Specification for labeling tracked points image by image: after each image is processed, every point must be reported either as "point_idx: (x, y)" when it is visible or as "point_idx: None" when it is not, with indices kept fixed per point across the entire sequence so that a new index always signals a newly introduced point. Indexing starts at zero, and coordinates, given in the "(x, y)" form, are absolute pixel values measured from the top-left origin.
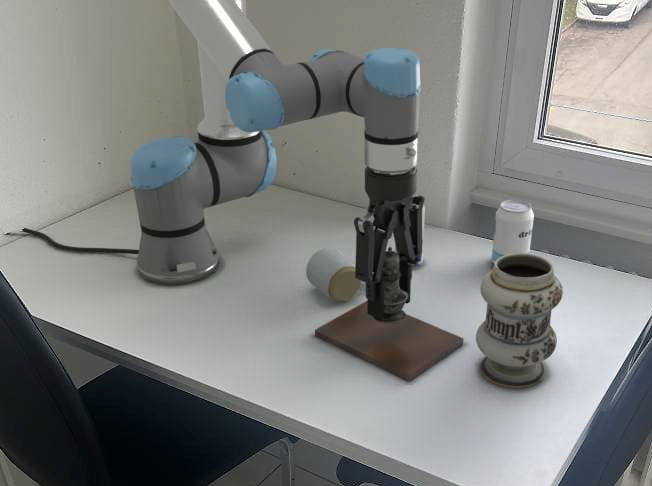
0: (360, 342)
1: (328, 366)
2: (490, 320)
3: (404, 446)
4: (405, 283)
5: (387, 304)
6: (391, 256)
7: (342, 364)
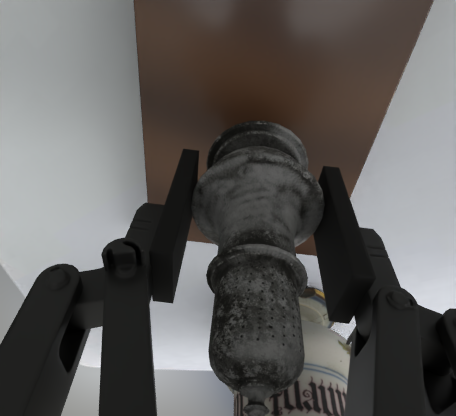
0: (176, 95)
1: (60, 65)
2: (244, 405)
3: (33, 277)
4: (320, 254)
5: (201, 231)
6: (232, 388)
7: (95, 90)
